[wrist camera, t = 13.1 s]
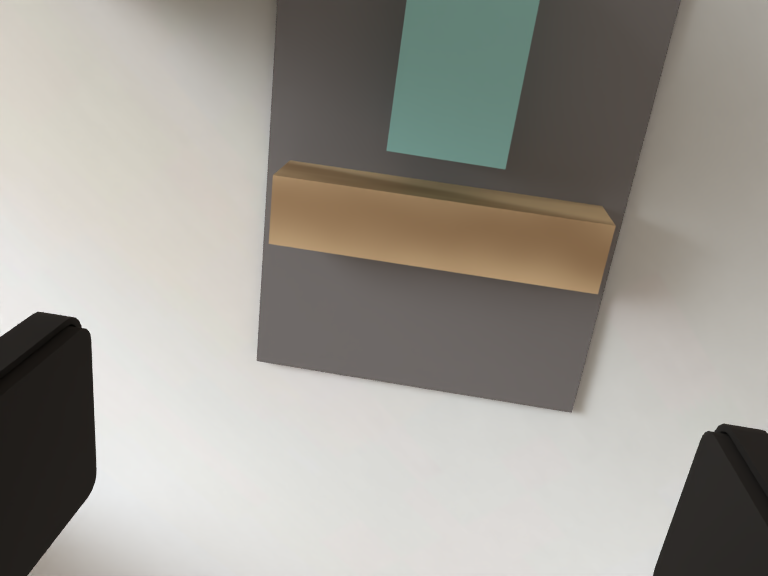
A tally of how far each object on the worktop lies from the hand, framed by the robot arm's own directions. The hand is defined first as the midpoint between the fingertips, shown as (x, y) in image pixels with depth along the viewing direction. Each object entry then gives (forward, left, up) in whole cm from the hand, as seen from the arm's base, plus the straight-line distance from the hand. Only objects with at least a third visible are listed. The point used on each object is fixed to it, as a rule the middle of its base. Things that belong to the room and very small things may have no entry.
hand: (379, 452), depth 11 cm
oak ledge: (-2, 0, -22) cm, 22 cm away
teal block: (+1, 0, -20) cm, 20 cm away
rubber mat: (-1, 0, -22) cm, 22 cm away
